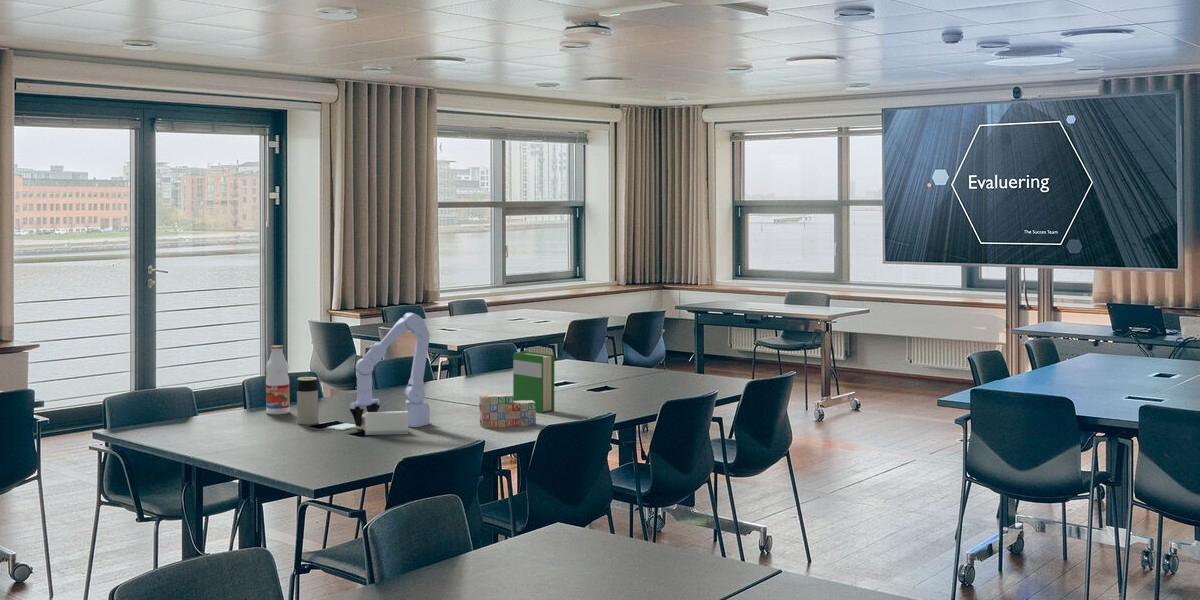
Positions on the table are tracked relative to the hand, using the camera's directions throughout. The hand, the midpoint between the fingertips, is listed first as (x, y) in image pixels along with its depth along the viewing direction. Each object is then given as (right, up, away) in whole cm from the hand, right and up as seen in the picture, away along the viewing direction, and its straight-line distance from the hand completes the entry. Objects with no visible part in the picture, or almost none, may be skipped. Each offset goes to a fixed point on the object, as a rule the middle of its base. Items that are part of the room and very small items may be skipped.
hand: (364, 424), depth 441 cm
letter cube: (0, -2, 0) cm, 2 cm away
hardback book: (+63, +1, +44) cm, 77 cm away
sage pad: (-8, -1, +1) cm, 9 cm away
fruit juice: (-43, +1, +34) cm, 55 cm away
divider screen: (+10, -2, -9) cm, 14 cm away
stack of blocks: (+55, -1, +8) cm, 55 cm away
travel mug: (-25, -1, +10) cm, 27 cm away
